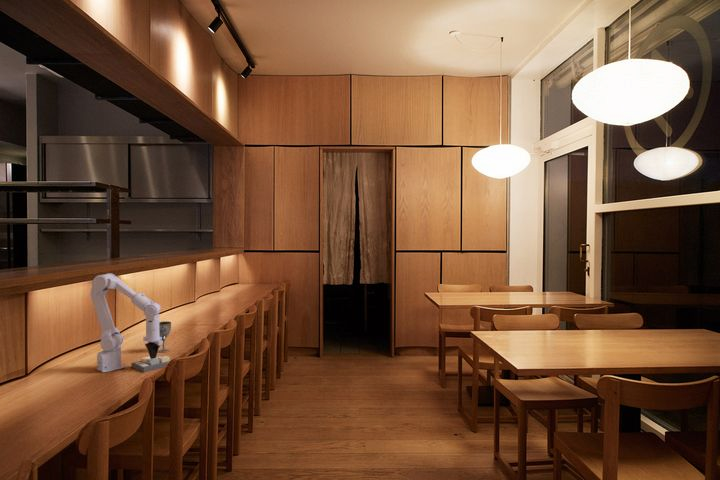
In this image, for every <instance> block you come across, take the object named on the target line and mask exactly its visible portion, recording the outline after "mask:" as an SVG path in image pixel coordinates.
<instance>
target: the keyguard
mask: <svg viewBox="0 0 720 480" xmlns="http://www.w3.org/2000/svg"><path fill="white" fill-rule="evenodd" d="M160 356H161V357H163V356H164V355H160ZM171 360H173V359H171V358H170V361H171ZM168 362H169V361H167V362H163V363H161V362H159V364H155V365H148V364H147V363H143V362H141V360H139V361H135V362H134V361H133V362H130V363H131V364H130V365H131V368H133V369H135V370H138V371H140V372H143V373H146V372H147V373H148V372H150V371H154V370H158V369H162V368H166V367H165V366H166V365H167V364H168Z"/></svg>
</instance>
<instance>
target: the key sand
mask: <svg viewBox="0 0 720 480" xmlns="http://www.w3.org/2000/svg"><path fill="white" fill-rule="evenodd" d="M162 356H163V357H159V356H157V357H158V359H159V362H161V363H163V362H167V361H170V359H171V357H170V356H168V355H162Z"/></svg>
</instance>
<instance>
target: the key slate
mask: <svg viewBox="0 0 720 480" xmlns="http://www.w3.org/2000/svg"><path fill="white" fill-rule="evenodd" d="M147 364H148V365H155V364H159V359H156V358H154V359H150V360H147Z"/></svg>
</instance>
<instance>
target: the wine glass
mask: <svg viewBox="0 0 720 480" xmlns="http://www.w3.org/2000/svg"><path fill="white" fill-rule="evenodd" d="M171 331H172V321H168V320H167V321H166V320H165V321H159V334H160V337H162V339H161V340H162V341H163V345H162V348H161V349H158V352H157V354H163V353H164V354H165V353H168V352H167V351H169V348H165V341H166V339H167V337H168V336H169V335H170V334H171ZM169 352H170V351H169Z"/></svg>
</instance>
